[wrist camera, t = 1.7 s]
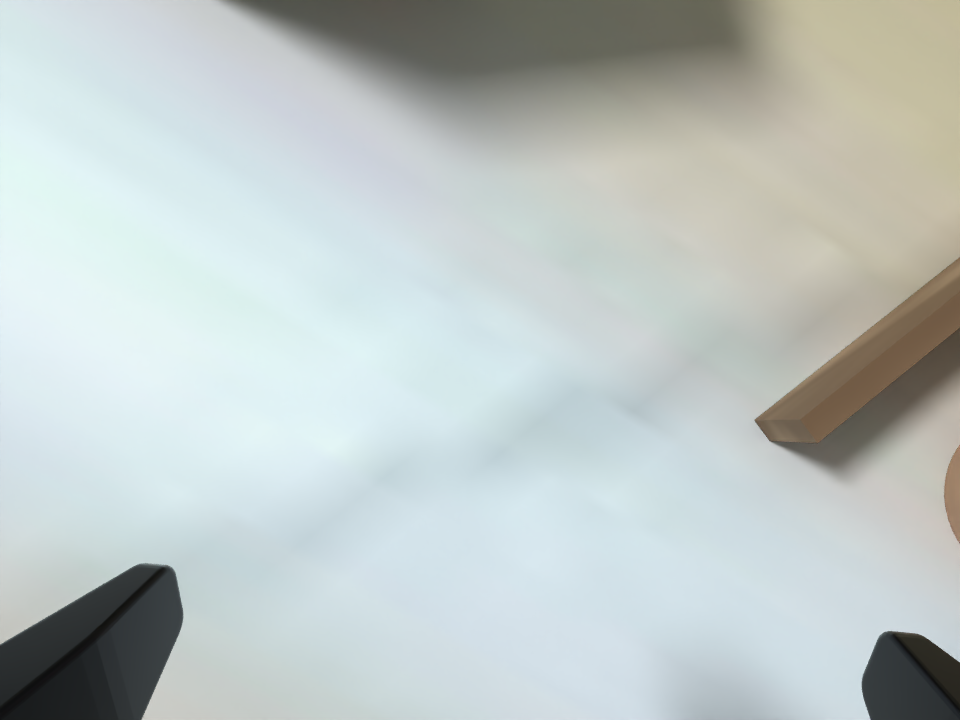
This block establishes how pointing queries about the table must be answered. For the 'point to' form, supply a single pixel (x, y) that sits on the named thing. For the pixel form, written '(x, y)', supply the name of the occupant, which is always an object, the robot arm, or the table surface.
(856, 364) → the wooden u-shaped bracket
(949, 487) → the peach mushroom peg
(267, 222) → the table surface
